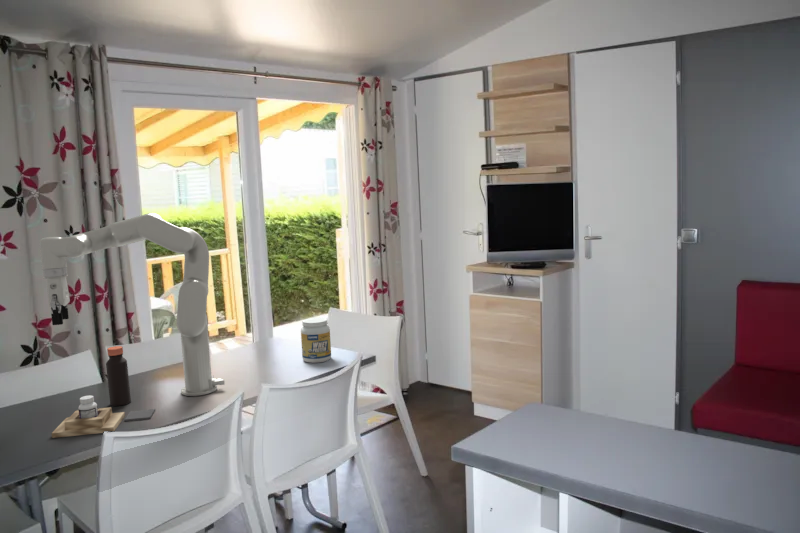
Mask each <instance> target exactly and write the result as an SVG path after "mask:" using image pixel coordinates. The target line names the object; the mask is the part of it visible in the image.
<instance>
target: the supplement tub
mask: <svg viewBox="0 0 800 533" xmlns="http://www.w3.org/2000/svg"><path fill="white" fill-rule="evenodd" d="M328 323H329V322H328V319H327V318H325V317H310V318H306V319H303V320H302V324H301V325H302V327H301V329H300V339H301V340H300V341H301V342H300V343H301V355H302V357H301V358H302V360H303V362H306V363H311V364H312V363H313V364H316V363H319V364H320V363H323V362H324V363H325V362H327V361H329V360H330V359H331V358H332V345H331V329H330V327H329V325H328Z"/></svg>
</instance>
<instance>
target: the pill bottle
mask: <svg viewBox="0 0 800 533" xmlns="http://www.w3.org/2000/svg"><path fill="white" fill-rule="evenodd" d="M79 403H80V404H79V405H78V409H77V410H79V418H80V419H83V418H93V417H97V416H98V410H97V409H98V404H97V402H95V398H94V395H84V396H81V397H80V398H79Z"/></svg>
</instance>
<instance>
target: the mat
mask: <svg viewBox="0 0 800 533" xmlns="http://www.w3.org/2000/svg"><path fill="white" fill-rule="evenodd" d="M155 412H156V408H151V409H150V408H149V409H141V410H130V411H129V412H128V414H127V415H126V416H125V417H124V419H123V420H124V422H132V421H143V420H151V418H152V417H153V415H154V414H155Z"/></svg>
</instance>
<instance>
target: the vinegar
mask: <svg viewBox="0 0 800 533" xmlns="http://www.w3.org/2000/svg"><path fill="white" fill-rule="evenodd" d="M123 355H124V348H123V346H119V345H117V346H111V347H108V348H107V357H108V358H109V359H108V360H107V361H106V363H105V368H106V376H107V377H106V378H107V385H108V386H107V387H108V396H109V405H110V406H112V407H120V406H125V405H129V404H130V403H131V402H132V398H131V388H130V386H131V385H130V379H129V378H130V377H129V376H130V375H129V366H128V360H127V359H126V358H125V357H124V356H123Z"/></svg>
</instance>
